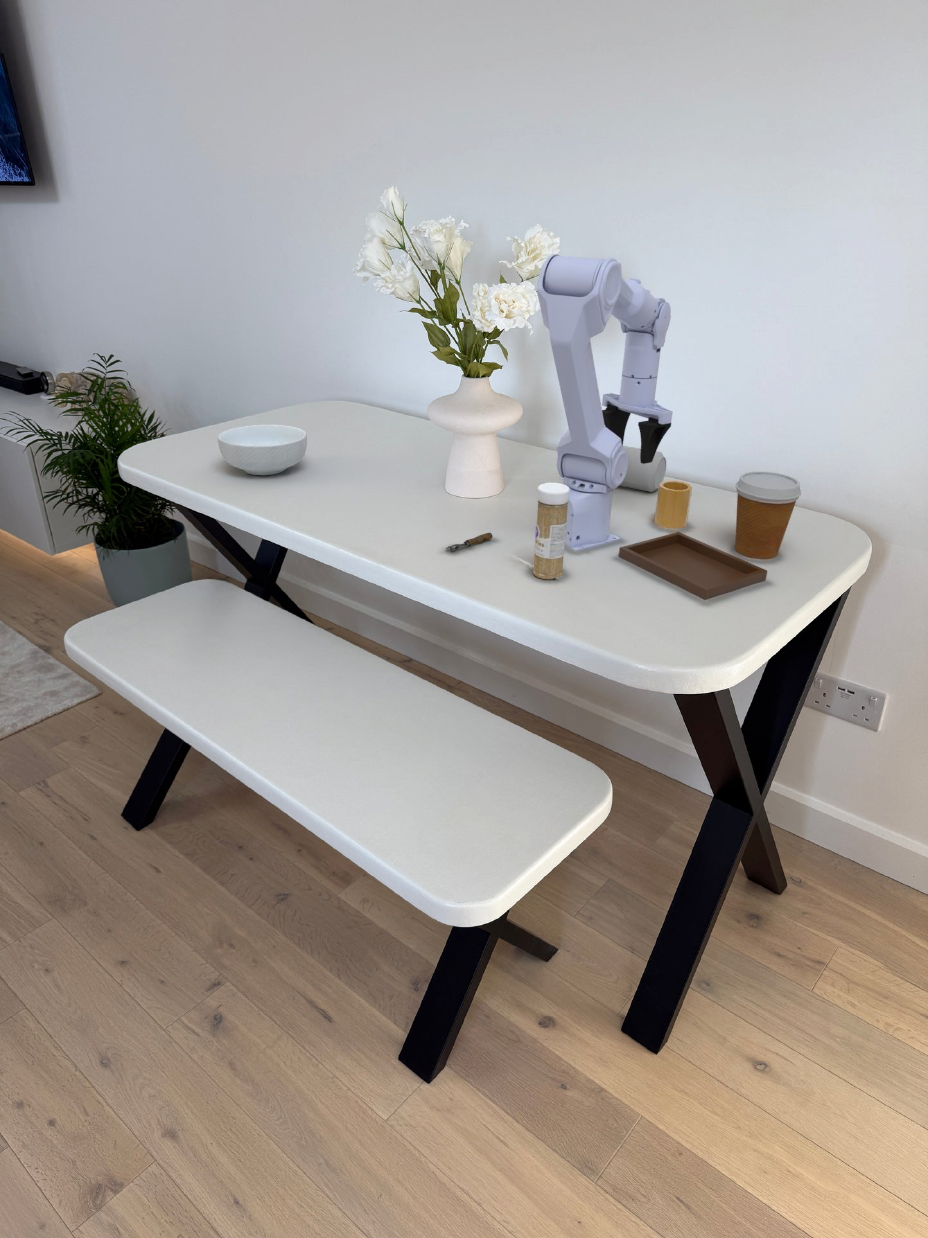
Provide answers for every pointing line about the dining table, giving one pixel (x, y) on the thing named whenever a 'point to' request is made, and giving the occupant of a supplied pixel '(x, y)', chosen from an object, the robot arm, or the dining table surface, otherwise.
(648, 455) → the robot arm
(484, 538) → the can opener
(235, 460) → the cereal bowl
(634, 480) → the can
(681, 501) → the cup
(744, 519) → the disposable coffee cup
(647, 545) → the tray
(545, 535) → the sprinkles bottle
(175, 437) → the dining table surface
